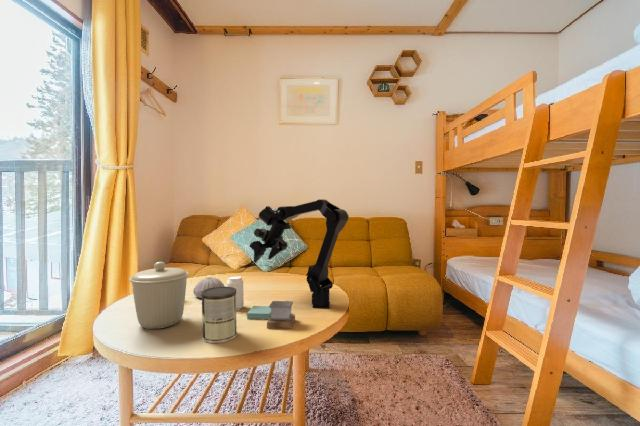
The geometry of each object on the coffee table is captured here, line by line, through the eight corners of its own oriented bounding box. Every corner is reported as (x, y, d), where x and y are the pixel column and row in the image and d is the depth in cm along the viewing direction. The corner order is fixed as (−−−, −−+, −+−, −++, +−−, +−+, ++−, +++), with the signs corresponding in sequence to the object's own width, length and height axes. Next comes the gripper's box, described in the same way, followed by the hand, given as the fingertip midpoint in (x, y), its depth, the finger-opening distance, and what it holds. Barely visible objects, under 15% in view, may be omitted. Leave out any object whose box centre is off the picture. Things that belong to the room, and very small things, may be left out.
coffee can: (195, 337, 100) (194, 291, 100) (224, 327, 108) (223, 284, 108) (214, 346, 94) (213, 297, 93) (244, 335, 102) (243, 290, 101)
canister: (122, 324, 111) (120, 262, 110) (175, 310, 125) (174, 255, 124) (143, 339, 99) (141, 269, 98) (199, 322, 113) (198, 261, 112)
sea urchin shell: (199, 302, 135) (199, 283, 135) (189, 295, 145) (188, 277, 145) (230, 296, 143) (230, 278, 143) (218, 289, 154) (218, 272, 154)
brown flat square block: (295, 319, 114) (295, 314, 114) (291, 328, 106) (291, 322, 106) (272, 319, 115) (272, 313, 115) (267, 328, 107) (266, 322, 107)
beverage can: (224, 308, 127) (223, 277, 127) (238, 304, 132) (237, 274, 131) (232, 312, 123) (231, 280, 122) (246, 308, 127) (246, 277, 127)
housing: (293, 315, 113) (292, 301, 113) (290, 321, 108) (290, 306, 108) (272, 315, 113) (272, 300, 113) (269, 320, 108) (269, 305, 108)
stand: (274, 311, 123) (274, 306, 123) (269, 319, 115) (269, 313, 115) (253, 311, 124) (253, 305, 123) (247, 318, 116) (247, 313, 116)
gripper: (278, 220, 152) (264, 247, 157) (248, 222, 137) (235, 252, 142) (294, 234, 147) (280, 261, 152) (265, 238, 132) (251, 268, 137)
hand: (261, 260), depth 146 cm, fingers open, 9 cm apart
